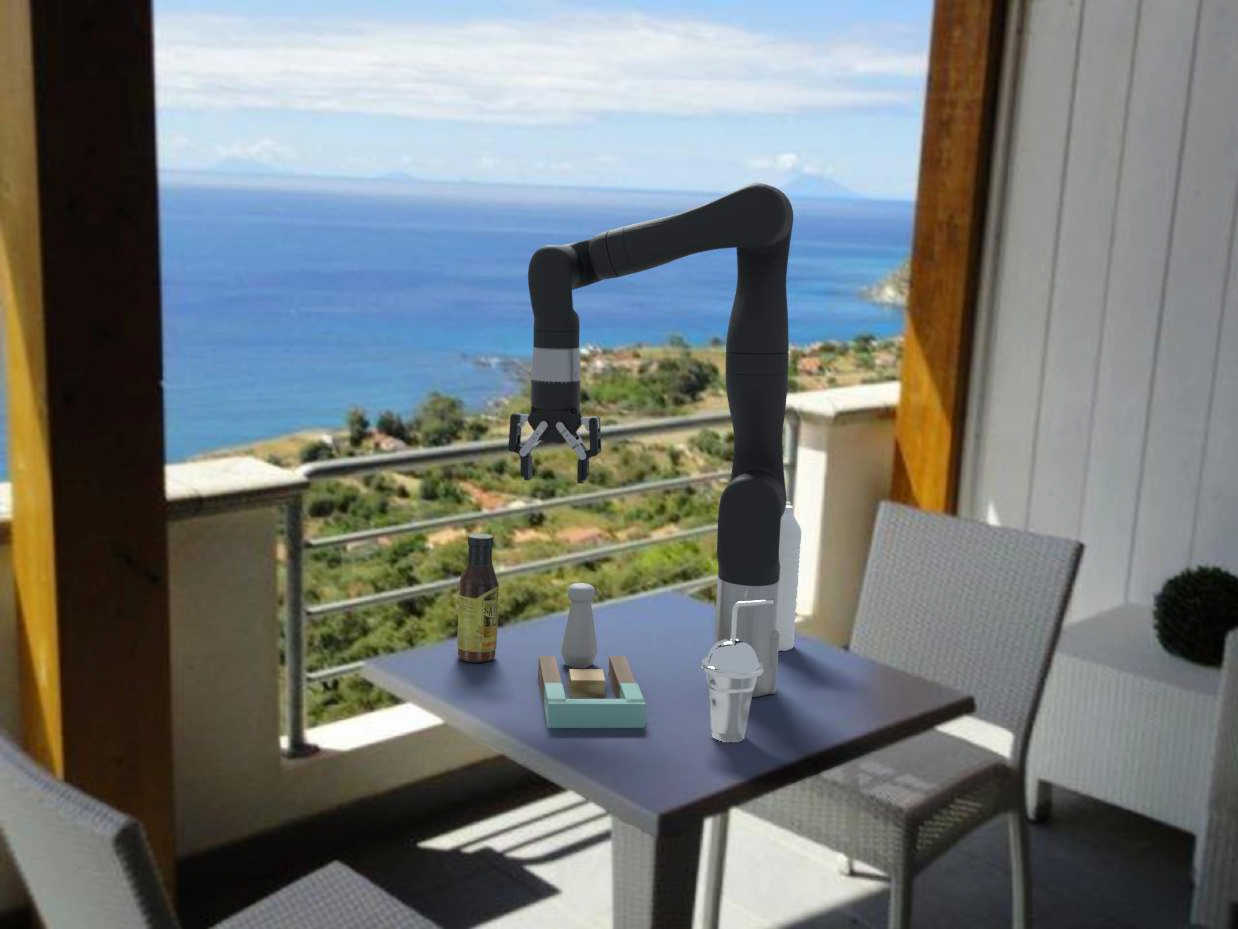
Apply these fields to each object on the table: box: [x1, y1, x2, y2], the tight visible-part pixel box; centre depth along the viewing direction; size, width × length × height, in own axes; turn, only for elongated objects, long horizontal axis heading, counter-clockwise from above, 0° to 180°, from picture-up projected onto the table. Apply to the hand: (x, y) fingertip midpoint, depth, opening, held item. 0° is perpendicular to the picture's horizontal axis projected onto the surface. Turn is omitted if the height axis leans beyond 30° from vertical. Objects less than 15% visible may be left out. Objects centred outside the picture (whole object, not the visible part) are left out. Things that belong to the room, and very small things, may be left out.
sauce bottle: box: [456, 533, 500, 664], centre depth 206 cm, size 7×6×20 cm
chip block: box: [568, 668, 606, 699], centre depth 194 cm, size 5×5×3 cm
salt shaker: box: [560, 582, 599, 669], centre depth 206 cm, size 6×6×13 cm
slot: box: [537, 655, 637, 705], centre depth 195 cm, size 13×14×3 cm
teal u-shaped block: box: [543, 682, 646, 729], centre depth 184 cm, size 13×8×4 cm, turn 97°
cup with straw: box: [700, 599, 775, 744], centre depth 177 cm, size 8×9×20 cm
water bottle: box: [776, 501, 802, 652], centre depth 218 cm, size 9×6×25 cm
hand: (554, 481), depth 203 cm, fingers open, 8 cm apart
